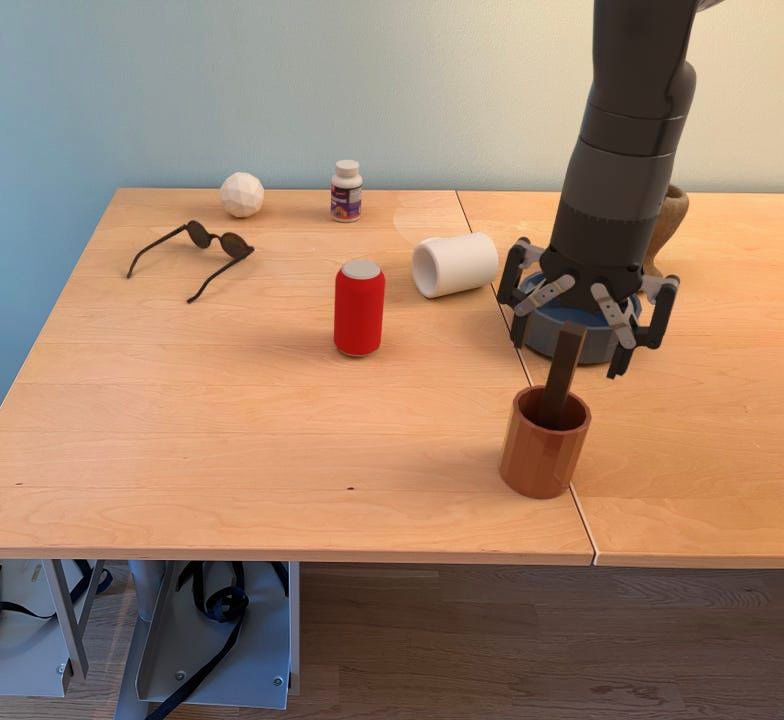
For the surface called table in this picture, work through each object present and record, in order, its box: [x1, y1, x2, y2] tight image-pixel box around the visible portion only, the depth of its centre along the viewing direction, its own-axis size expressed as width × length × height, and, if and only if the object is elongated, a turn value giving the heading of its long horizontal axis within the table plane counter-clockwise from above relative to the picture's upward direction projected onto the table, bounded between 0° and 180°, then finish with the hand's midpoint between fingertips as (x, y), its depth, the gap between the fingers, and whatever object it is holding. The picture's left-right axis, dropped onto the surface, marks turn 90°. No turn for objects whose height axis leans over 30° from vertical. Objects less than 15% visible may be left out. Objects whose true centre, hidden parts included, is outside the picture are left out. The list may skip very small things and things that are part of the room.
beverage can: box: [333, 259, 386, 357], centre depth 89 cm, size 6×6×12 cm
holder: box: [498, 384, 593, 500], centre depth 71 cm, size 7×7×9 cm
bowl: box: [512, 270, 643, 364], centre depth 93 cm, size 15×15×6 cm
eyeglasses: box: [126, 219, 256, 304], centre depth 107 cm, size 15×15×5 cm
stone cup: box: [638, 182, 690, 292], centre depth 104 cm, size 15×12×15 cm
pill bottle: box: [330, 159, 363, 223], centre depth 122 cm, size 5×5×10 cm
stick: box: [535, 320, 588, 431], centre depth 68 cm, size 2×2×18 cm
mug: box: [410, 231, 499, 299], centre depth 104 cm, size 12×10×8 cm
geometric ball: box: [219, 171, 265, 218], centre depth 123 cm, size 8×8×8 cm
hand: (565, 359), depth 65 cm, fingers open, 8 cm apart
